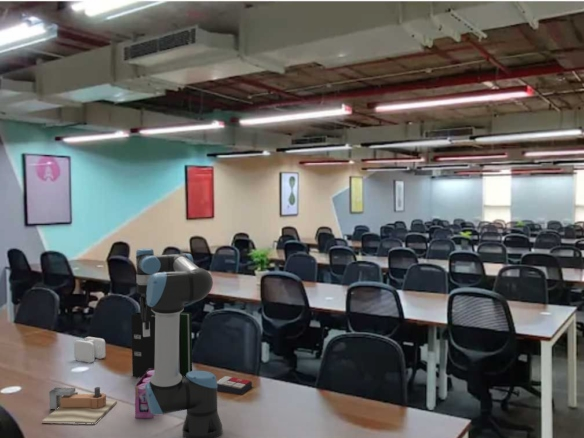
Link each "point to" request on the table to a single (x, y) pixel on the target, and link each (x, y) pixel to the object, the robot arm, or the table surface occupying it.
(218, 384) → the calculator
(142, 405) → the gum box
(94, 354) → the cable organizer
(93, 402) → the link
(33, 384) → the table surface
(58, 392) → the keeper
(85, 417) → the plate
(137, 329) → the binder
